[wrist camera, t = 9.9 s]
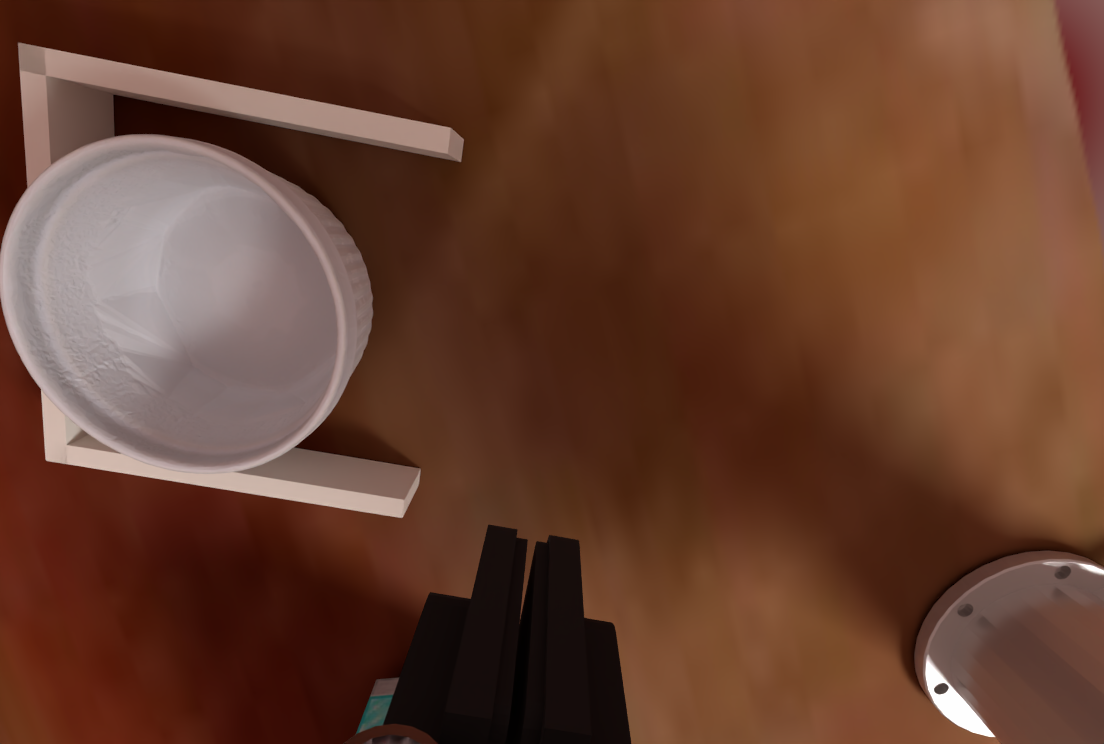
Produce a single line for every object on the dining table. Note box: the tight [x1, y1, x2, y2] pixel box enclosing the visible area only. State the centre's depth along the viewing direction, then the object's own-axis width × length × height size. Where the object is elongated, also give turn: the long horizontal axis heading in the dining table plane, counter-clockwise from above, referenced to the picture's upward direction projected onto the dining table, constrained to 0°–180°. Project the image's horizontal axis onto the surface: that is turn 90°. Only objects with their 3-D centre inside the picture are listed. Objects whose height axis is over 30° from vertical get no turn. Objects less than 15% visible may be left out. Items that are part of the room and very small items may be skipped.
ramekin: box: [0, 134, 373, 474], centre depth 24 cm, size 13×13×7 cm
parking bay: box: [18, 43, 464, 518], centre depth 26 cm, size 17×18×4 cm
